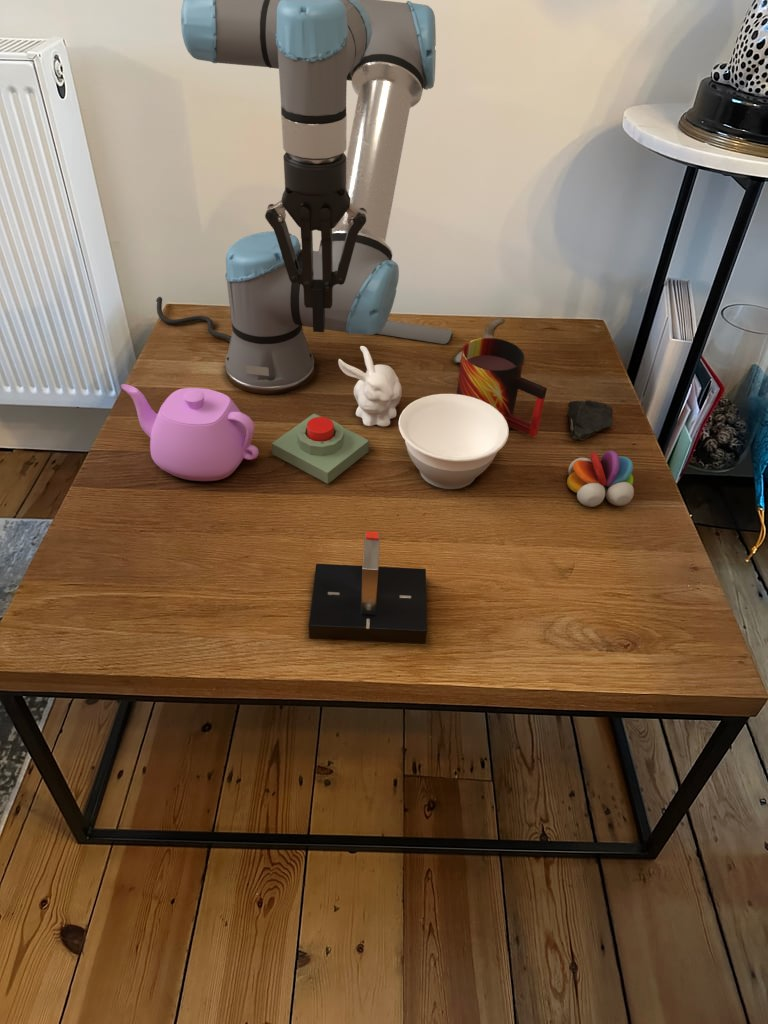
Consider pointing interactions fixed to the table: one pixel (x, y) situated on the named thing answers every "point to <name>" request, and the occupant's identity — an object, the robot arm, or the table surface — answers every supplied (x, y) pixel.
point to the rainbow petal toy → (602, 479)
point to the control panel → (395, 606)
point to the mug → (499, 380)
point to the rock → (588, 418)
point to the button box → (320, 450)
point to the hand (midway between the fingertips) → (319, 326)
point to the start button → (320, 429)
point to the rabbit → (374, 391)
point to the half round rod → (416, 332)
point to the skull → (486, 333)
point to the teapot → (196, 433)
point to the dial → (370, 573)
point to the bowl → (452, 437)
